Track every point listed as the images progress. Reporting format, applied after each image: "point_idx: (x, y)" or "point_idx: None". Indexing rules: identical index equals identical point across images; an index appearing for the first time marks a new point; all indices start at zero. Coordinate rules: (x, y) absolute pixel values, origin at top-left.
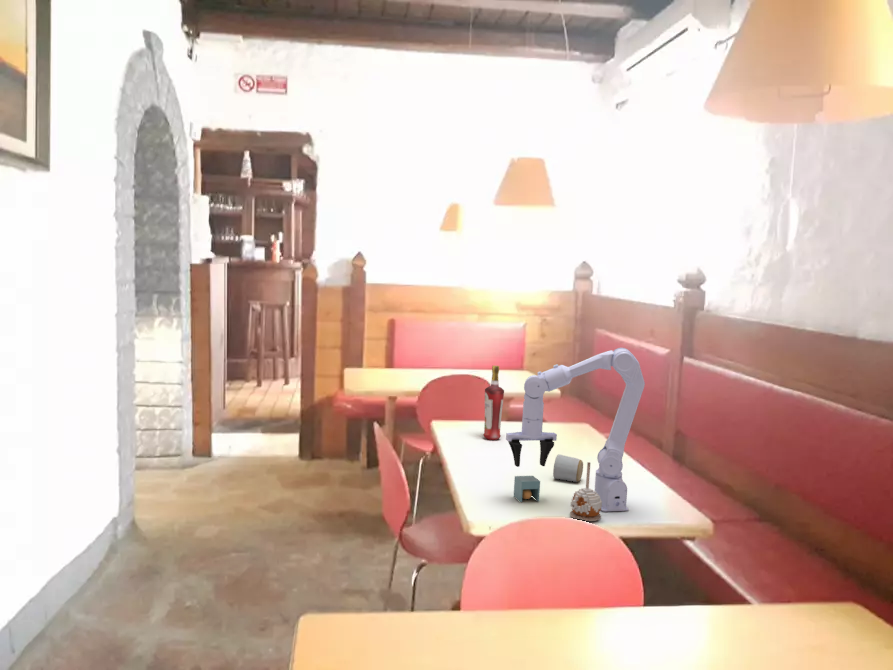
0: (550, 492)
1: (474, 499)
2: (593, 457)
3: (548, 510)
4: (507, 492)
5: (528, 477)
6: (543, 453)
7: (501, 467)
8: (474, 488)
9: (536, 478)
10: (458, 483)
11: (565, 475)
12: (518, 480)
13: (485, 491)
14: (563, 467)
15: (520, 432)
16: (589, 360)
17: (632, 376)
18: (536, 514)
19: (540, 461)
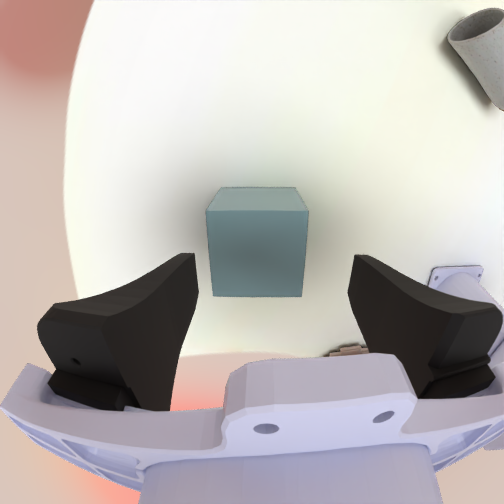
0: (385, 158)
1: (90, 207)
2: None
3: (285, 322)
4: (215, 132)
5: (270, 240)
6: (378, 335)
7: None
8: (111, 87)
9: (304, 259)
10: (83, 42)
11: (480, 78)
12: (210, 258)
13: (136, 119)
14: (493, 71)
15: (131, 449)
16: None
17: None
18: (237, 342)
19: (359, 270)
